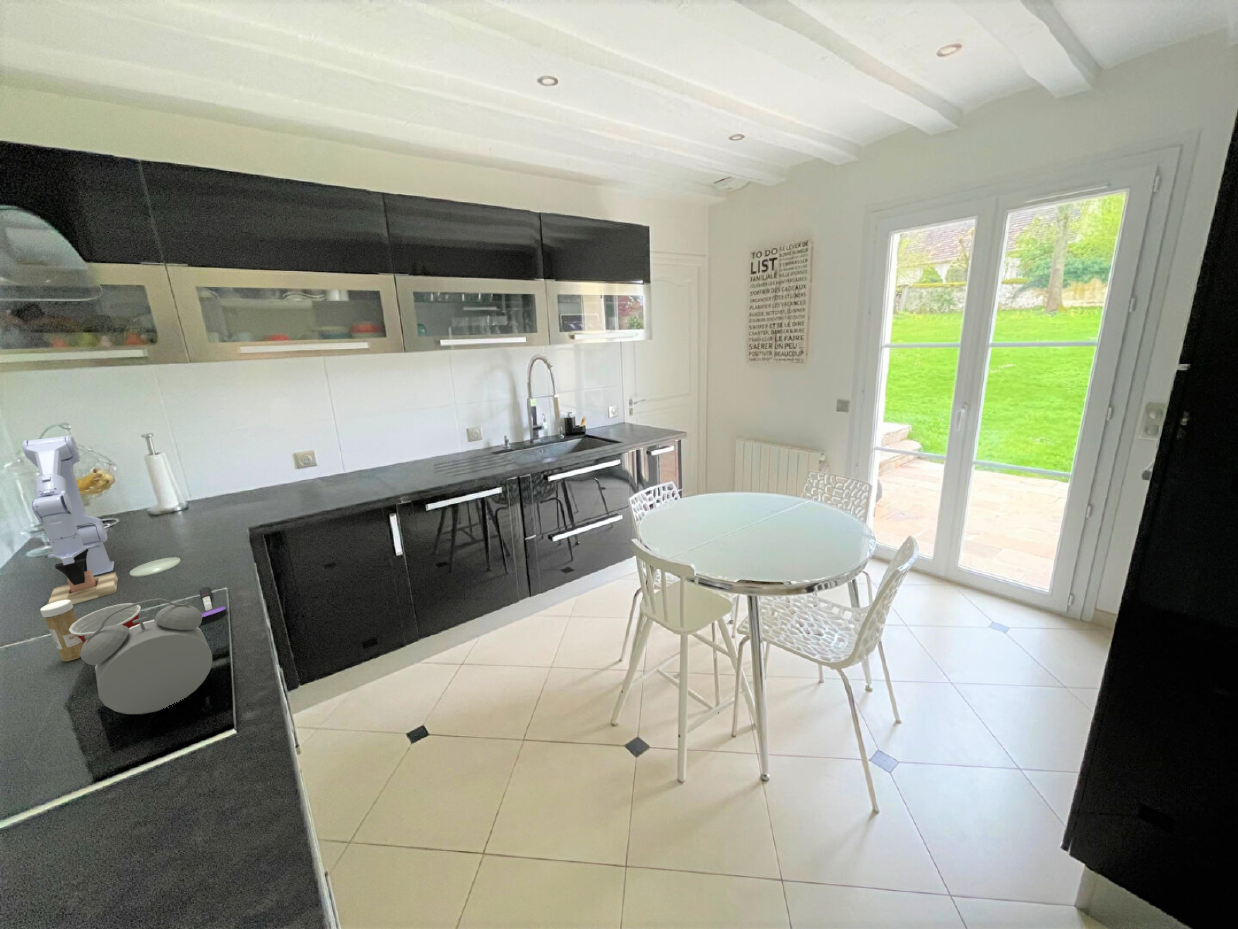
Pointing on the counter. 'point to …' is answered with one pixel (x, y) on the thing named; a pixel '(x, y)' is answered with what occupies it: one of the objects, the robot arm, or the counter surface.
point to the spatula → (208, 602)
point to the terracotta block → (88, 583)
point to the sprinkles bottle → (63, 628)
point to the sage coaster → (155, 566)
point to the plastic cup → (95, 619)
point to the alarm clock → (149, 659)
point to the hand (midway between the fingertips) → (80, 579)
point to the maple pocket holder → (87, 590)
